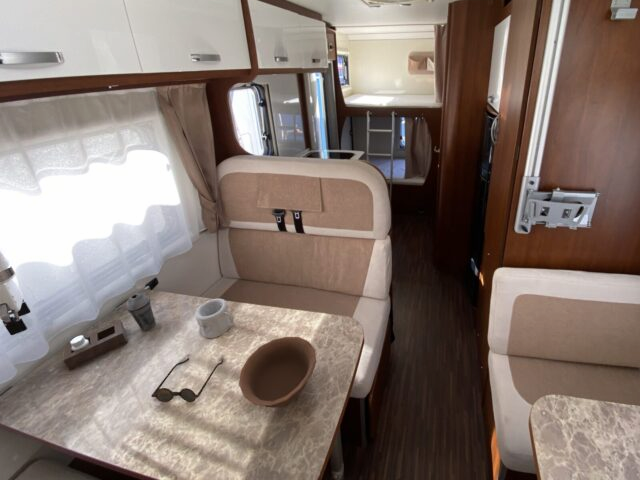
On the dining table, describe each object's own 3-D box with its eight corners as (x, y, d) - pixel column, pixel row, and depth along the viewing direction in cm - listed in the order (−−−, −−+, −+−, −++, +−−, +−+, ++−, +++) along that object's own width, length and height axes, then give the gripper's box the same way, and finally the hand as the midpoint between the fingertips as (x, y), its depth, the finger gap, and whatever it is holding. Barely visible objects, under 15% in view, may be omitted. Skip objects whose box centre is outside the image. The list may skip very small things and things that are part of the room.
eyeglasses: (154, 402, 92) (148, 391, 90) (186, 358, 105) (181, 348, 103) (200, 403, 91) (195, 392, 89) (226, 359, 104) (222, 348, 103)
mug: (195, 336, 114) (187, 316, 110) (215, 315, 124) (209, 296, 120) (226, 342, 111) (219, 321, 107) (244, 319, 121) (238, 300, 117)
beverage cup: (133, 331, 118) (113, 290, 110) (152, 317, 124) (134, 278, 116) (145, 336, 115) (125, 295, 108) (164, 322, 121) (146, 282, 114)
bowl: (296, 439, 81) (289, 413, 76) (230, 416, 87) (220, 391, 83) (332, 366, 100) (328, 342, 96) (276, 351, 106) (270, 328, 102)
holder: (69, 370, 103) (63, 360, 101) (70, 354, 109) (64, 344, 107) (127, 342, 113) (122, 332, 111) (125, 329, 119) (120, 319, 117)
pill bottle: (75, 358, 107) (65, 342, 104) (89, 348, 111) (80, 332, 108) (82, 362, 106) (72, 346, 103) (97, 351, 110) (88, 336, 107)
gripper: (-21, 269, 89) (7, 315, 95) (-36, 297, 77) (-3, 347, 83) (17, 259, 93) (41, 302, 100) (8, 284, 82) (37, 332, 88)
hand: (21, 323), depth 91 cm, fingers open, 9 cm apart
